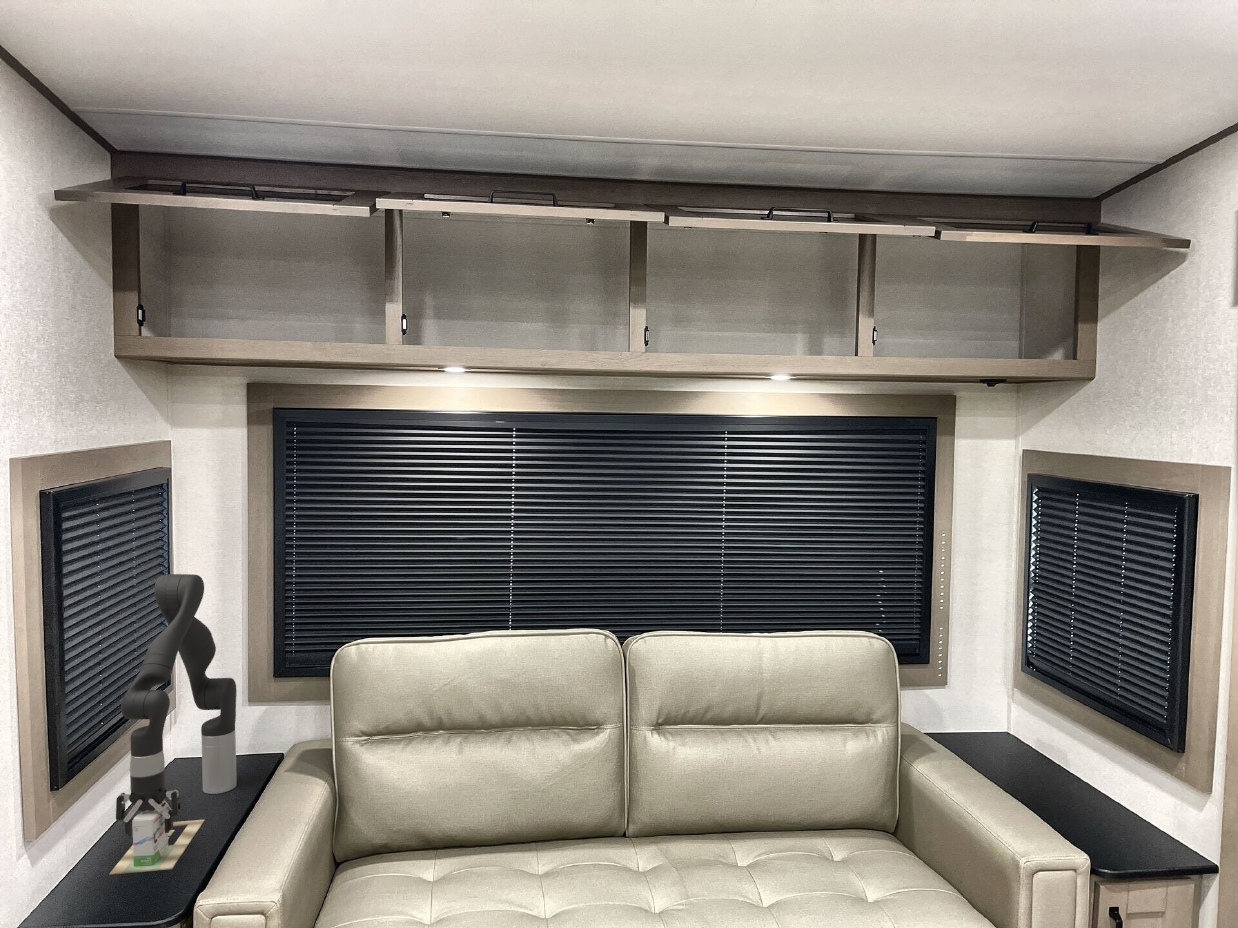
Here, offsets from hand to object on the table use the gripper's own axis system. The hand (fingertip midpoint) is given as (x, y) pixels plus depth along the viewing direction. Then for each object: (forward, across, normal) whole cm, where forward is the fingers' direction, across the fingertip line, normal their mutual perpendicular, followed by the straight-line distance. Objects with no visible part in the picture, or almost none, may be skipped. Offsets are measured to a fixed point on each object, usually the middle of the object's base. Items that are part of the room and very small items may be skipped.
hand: (149, 833), depth 209 cm
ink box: (+6, 0, 0) cm, 7 cm away
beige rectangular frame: (+7, 0, -6) cm, 9 cm away
